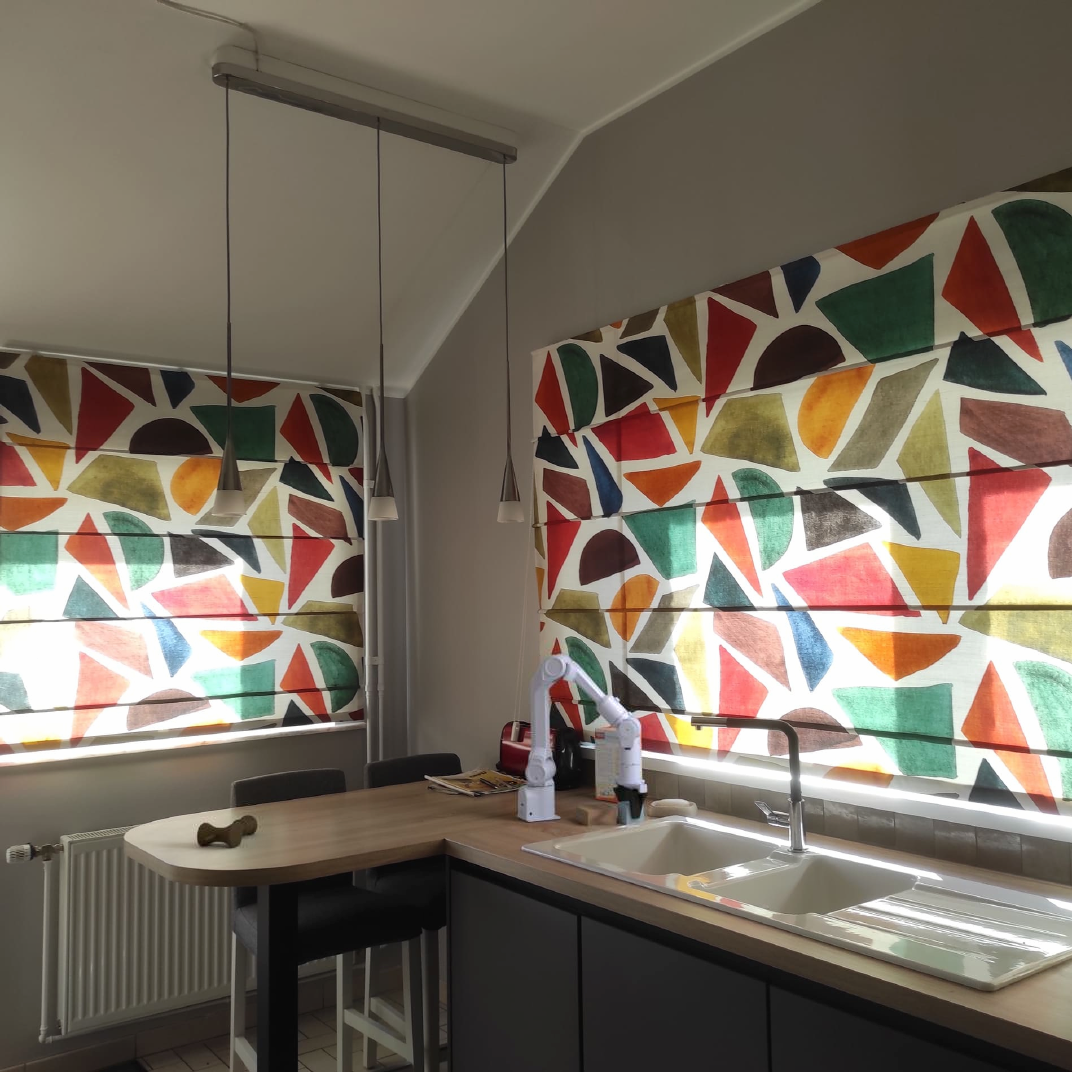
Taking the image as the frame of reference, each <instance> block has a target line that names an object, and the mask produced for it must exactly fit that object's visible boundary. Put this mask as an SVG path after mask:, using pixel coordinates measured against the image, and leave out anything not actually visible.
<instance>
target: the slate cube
mask: <svg viewBox="0 0 1072 1072" xmlns="http://www.w3.org/2000/svg"><path fill="white" fill-rule="evenodd" d="M644 813H645V812H644V805H643V806H642V810H641V815H640V818H638V819H632V817H631V812H630V804H629V801H624V802H617V822H619V823H622V824H624V825H626V824H630V825H632V824H631V823H637V822H642V821H645V819H644V817H645V816H644Z"/></svg>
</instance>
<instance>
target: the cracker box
mask: <svg viewBox="0 0 1072 1072" xmlns="http://www.w3.org/2000/svg"><path fill="white" fill-rule="evenodd" d="M638 736H639V739H640V763H641V764H640V766H641V779H643V755H642V750H643V749H642V748H643V747H642V745H643V744H642V743H643V742H642V731H641V732H640V734H639V735H638ZM638 736H637V737H638ZM637 737H636V738H637ZM594 759H595V761H594V763H595V764H594V765H595V799H596V800H600V801H606V802H611V803H617V802H618V800H617V797H616V795H615V793H614V791H613V788H614V787H617V786H618V785H615V784H614V777H619V737H618V736H617V734H616V728H613V727H612V726H603V727H595V729H594Z"/></svg>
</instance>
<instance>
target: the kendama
mask: <svg viewBox="0 0 1072 1072" xmlns="http://www.w3.org/2000/svg"><path fill="white" fill-rule="evenodd" d="M256 831H258V822H257V819H256V817H255V816H253V815H250V814H248V815H244V816H242V817H241V818H240V819H235V820H233V822H232V823H231V824H229V825H228V826H227V825H226V826H224V827H218V826H214V825H212V823H211V824H210V823H209V822H203V823H201V824H200V825H199V826H198V829H197V832H196V841H197V845H198V846H200V847H205V846H206V847H207V846H209V845H211V844H213V843H224V844H225V845H227V846H228V847H230V848H231V849H235V848H237V847H239V846H240V845H241V844H242V839H243V837H245V836H246V835H247V836H252V835H254V834H255V833H256Z"/></svg>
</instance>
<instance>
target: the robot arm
mask: <svg viewBox="0 0 1072 1072" xmlns="http://www.w3.org/2000/svg"><path fill="white" fill-rule="evenodd" d="M561 679H562V680H563V681H566V682H570V683H575V684H576V685H577V686H578V687H579V688H580V689H581V690H582V691H583V692H584V693H585V694H586V695H587V696H588V697H589V698H590V699H591V700H592V701H593V702H595V704H596V711H597V712H598V713H599V715H601V717H602V718H603V719H604V720H605V721H606V722H607V723H608V724H609V726H610V727H613V728H616V734H617V736H618V737H619V777H614V784H615V785H618V786H617V787H614V788H613V791H614V793H615V795H616V797H617V800H618V802H624V801H629V804H630V812H631V817H632V819H638V818H640V815H641V810H642V806H643V807H644V802H645V800H646V799H647V796H648V794H649V792H648V785H647V784H646V783H645V779H643V778H642V779H641V766H640V764H641V763H640V739H639V736H638V735H639V734H640V732H641V733H642V724H641V722H640V721H639V719H638V718H637V717H636V716H634V715H633V714H632V712H631V711H628V710H627V709H626V708H625V707H624V706H623V705H622V704H621V702H620V699H619V697H614V696H613V695H611V694H610V695H607V694H605V693H604V692H603V691H602V690H601V688H599V687H598V685H597V684H596V683H595V682H594V680H592V678H591V677H590V676H589V675H588V674H587V673H586V671H585V670H584V669H583V668H582V667H581V666H580V665H579V664H578V663H577V662H576V661H574V660H573V659H572V658H571V657H570V656H569V655H568V654H566V653H558V654H557V653H556V654H551V655H548V656H547V657H546V658H544V659H543V660H542V661H541V662H539V666H538V668H537V670H536V672H534V675H533V676H532V678H531V680H530V684H529V685H530V686H529V687H530V700H529V701H530V743H531V744H530V745H531V746H530V747H531V748H530V752H529V754H528V762H527V766H526V768H525V772H524V774H525V775H524V776H525V778H526V780H527V784H526V785H522V786H520V787H519V788H518V792H517V811H518V812H517V815H516V817H518V818H520V819H521V820H523V821H526V822H528V823H531V822H541V821H551V820H560V819H561V816H559V815H558V814H556V813H555V812H556V809H555V807H556V806H555V803H556V801H555V781H554V780H553V779H554V778H553V777H555V774H556V772H557V767H556V764H555V762H554V758H553V751H552V748H551V738H550V737H551V736H550V735H551V733H550V732H551V731H550V730H551V729H550V689H551V687H553V685H555V684H556V683H557V682H558V681H559V680H561ZM637 736H638V737H637ZM636 737H637V738H636Z"/></svg>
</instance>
